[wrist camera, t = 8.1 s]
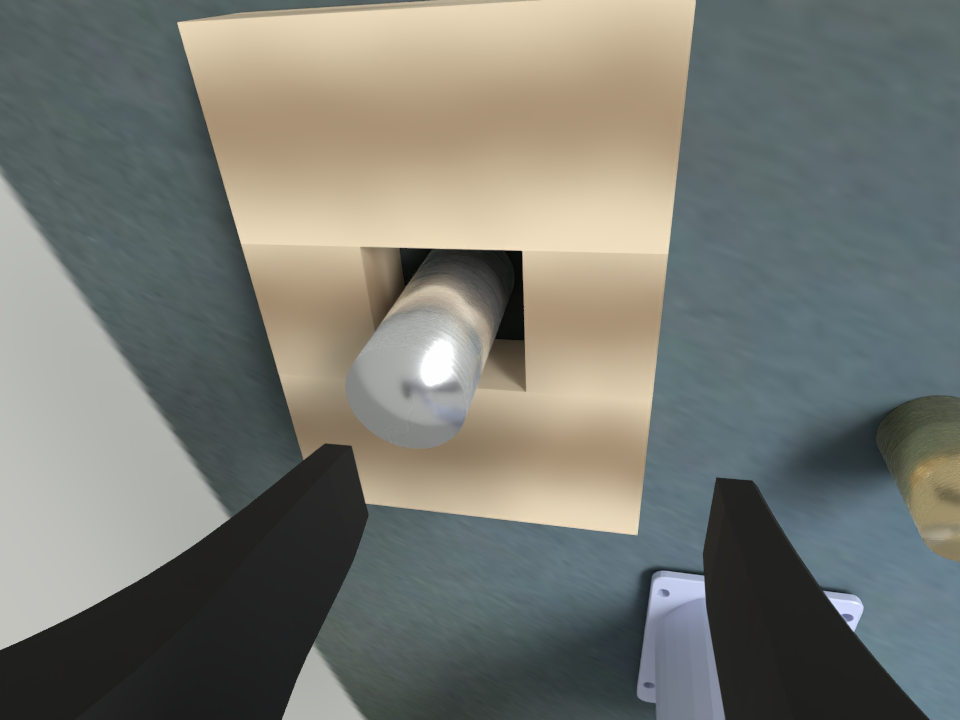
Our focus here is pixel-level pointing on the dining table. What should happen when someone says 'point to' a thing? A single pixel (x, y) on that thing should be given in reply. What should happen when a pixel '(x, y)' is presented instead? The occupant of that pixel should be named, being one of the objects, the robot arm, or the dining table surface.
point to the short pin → (927, 467)
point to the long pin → (431, 348)
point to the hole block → (462, 223)
